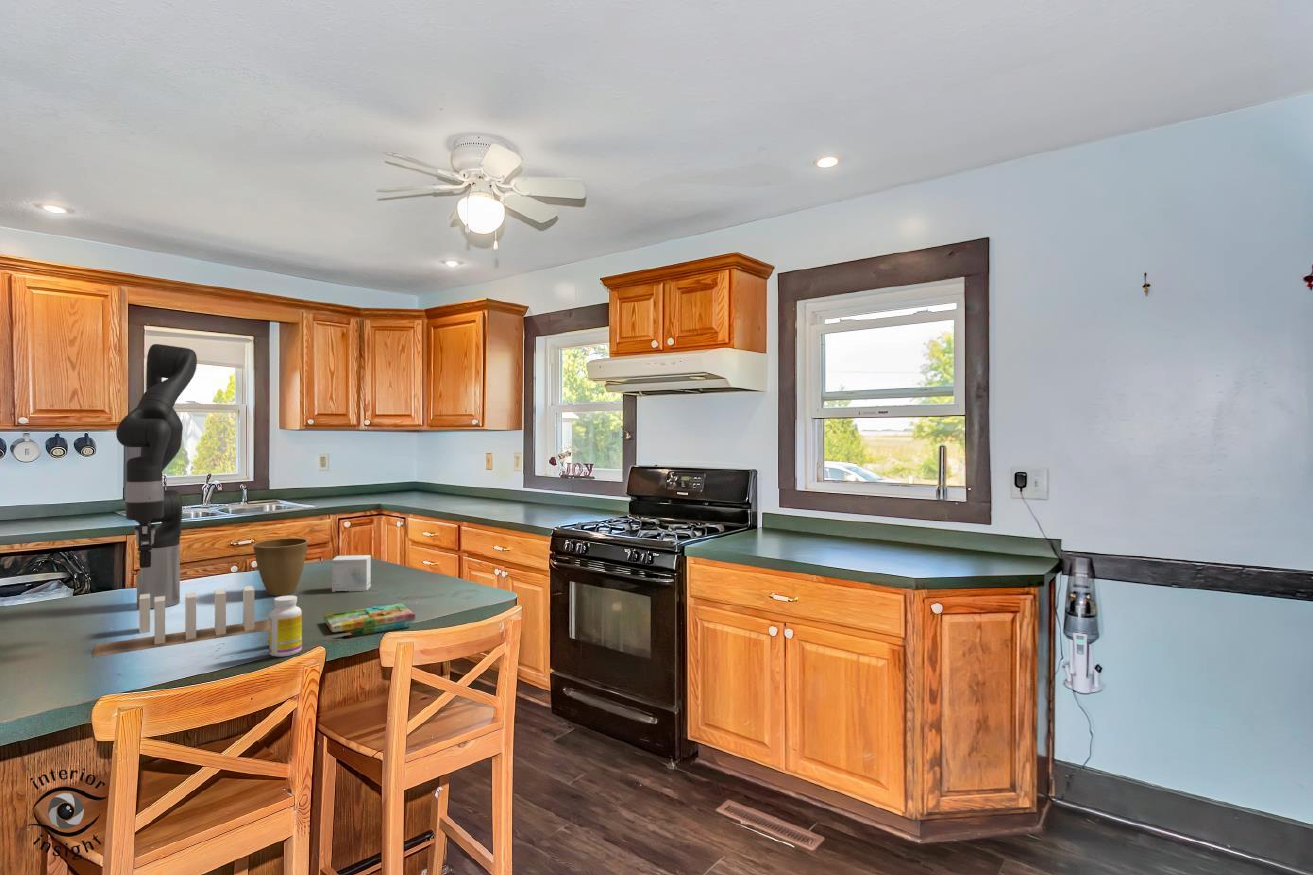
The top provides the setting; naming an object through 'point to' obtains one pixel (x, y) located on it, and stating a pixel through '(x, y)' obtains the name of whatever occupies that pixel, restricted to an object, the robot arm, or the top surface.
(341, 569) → the skincare box
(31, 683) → the top surface
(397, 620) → the puzzle game
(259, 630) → the domino board
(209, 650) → the top surface
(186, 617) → the domino
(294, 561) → the plant pot
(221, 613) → the domino
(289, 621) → the supplement bottle
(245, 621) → the domino
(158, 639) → the domino
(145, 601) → the domino
